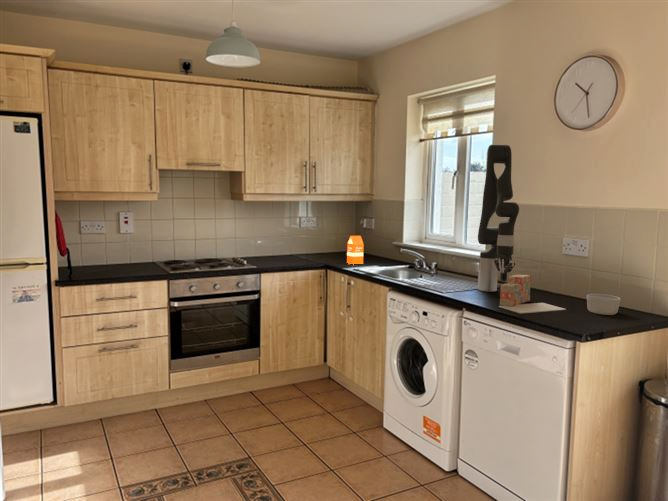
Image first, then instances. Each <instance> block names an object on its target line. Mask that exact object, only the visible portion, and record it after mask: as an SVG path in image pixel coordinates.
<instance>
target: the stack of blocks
mask: <svg viewBox="0 0 668 501" xmlns="http://www.w3.org/2000/svg"><path fill="white" fill-rule="evenodd" d="M531 278H532V277H531V275H530V274H518V273H517V274H513V275H508V276H507V279H508V281H507V283H503V284H500V292H499V306H505V305H507V306H515V305H519V304H525V303H528V302H530V301H531Z"/></svg>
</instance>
